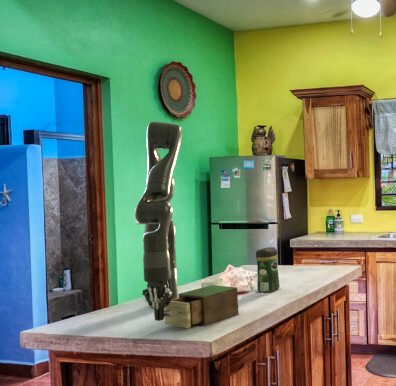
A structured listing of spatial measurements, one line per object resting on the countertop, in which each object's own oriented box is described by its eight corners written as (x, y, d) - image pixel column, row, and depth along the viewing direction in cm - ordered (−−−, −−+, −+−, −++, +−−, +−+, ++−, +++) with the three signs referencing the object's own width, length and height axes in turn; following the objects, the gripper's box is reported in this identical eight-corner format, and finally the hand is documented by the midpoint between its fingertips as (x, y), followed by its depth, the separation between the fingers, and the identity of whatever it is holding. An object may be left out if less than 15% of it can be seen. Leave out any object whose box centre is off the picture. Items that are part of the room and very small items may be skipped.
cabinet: (205, 325, 159) (203, 296, 159) (179, 321, 165) (178, 293, 165) (238, 314, 172) (237, 287, 171) (213, 311, 178) (212, 285, 178)
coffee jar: (266, 287, 215) (264, 246, 215) (282, 288, 213) (280, 246, 212) (254, 292, 206) (252, 249, 206) (270, 293, 204) (268, 249, 203)
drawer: (175, 332, 150) (174, 307, 150) (152, 328, 156) (150, 304, 155) (221, 317, 166) (220, 294, 165) (198, 313, 171) (197, 291, 171)
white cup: (217, 309, 180) (215, 282, 180) (198, 309, 182) (196, 282, 182) (228, 303, 188) (226, 278, 188) (209, 303, 189) (208, 278, 189)
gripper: (181, 264, 151) (183, 319, 152) (154, 262, 158) (157, 314, 158) (159, 268, 145) (162, 325, 145) (132, 266, 152) (135, 321, 152)
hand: (159, 320), depth 152 cm, fingers closed
